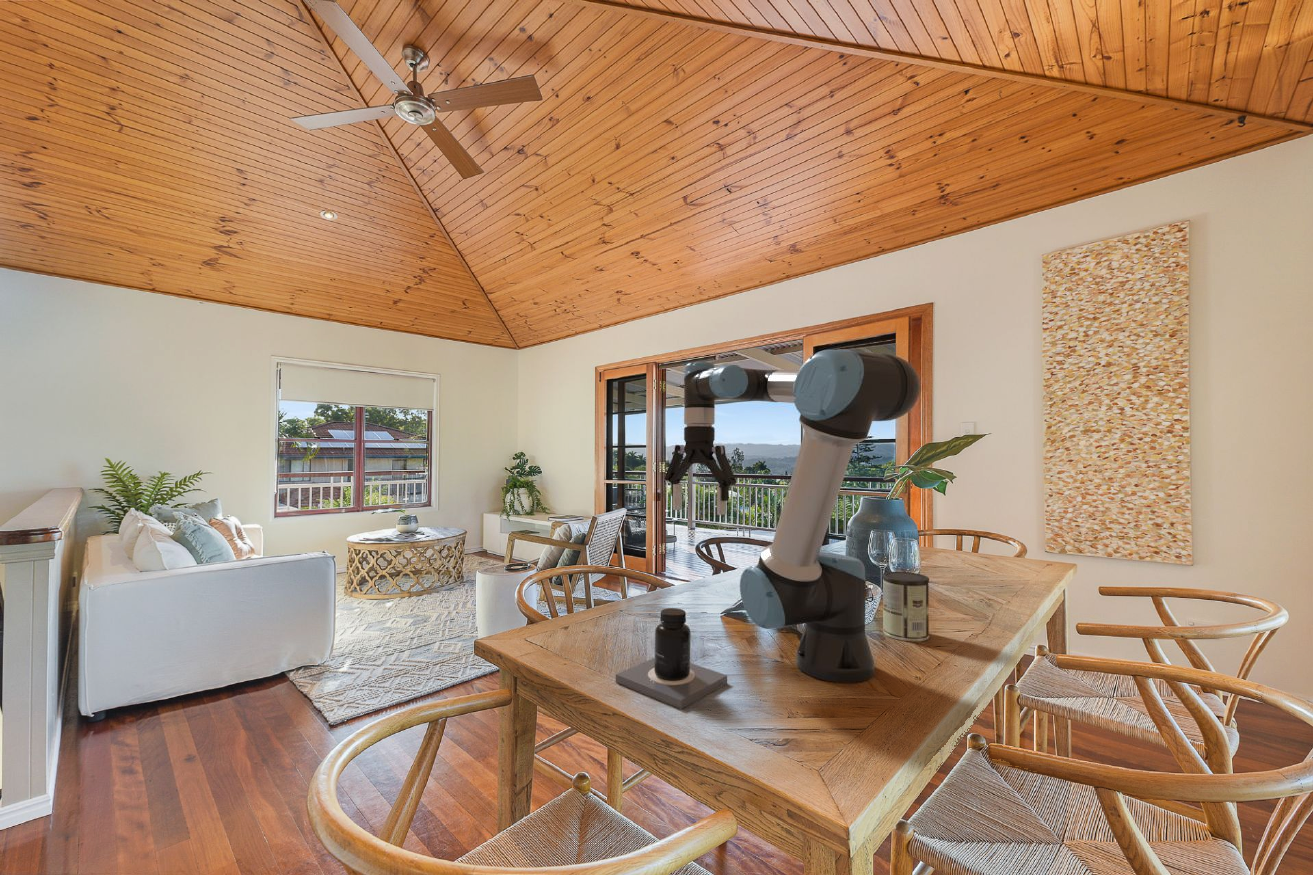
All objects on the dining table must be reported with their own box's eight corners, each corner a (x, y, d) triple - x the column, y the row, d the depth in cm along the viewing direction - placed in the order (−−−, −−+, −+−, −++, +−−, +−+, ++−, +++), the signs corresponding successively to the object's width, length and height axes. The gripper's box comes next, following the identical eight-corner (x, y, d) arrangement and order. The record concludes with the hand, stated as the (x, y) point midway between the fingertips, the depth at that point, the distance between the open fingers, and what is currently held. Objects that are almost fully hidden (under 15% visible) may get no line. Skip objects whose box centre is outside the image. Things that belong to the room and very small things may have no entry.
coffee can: (898, 624, 142) (898, 569, 142) (937, 636, 133) (938, 577, 134) (873, 632, 136) (873, 574, 136) (913, 645, 128) (913, 583, 128)
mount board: (727, 683, 106) (727, 674, 106) (680, 708, 96) (680, 699, 96) (663, 660, 117) (663, 653, 117) (615, 682, 107) (615, 673, 107)
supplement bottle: (648, 678, 105) (649, 614, 105) (661, 665, 111) (662, 604, 111) (683, 684, 102) (684, 618, 102) (694, 670, 108) (695, 608, 109)
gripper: (751, 425, 132) (750, 515, 132) (670, 426, 149) (669, 506, 149) (733, 424, 127) (732, 518, 127) (651, 426, 143) (650, 508, 143)
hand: (698, 512), depth 138 cm, fingers open, 13 cm apart
